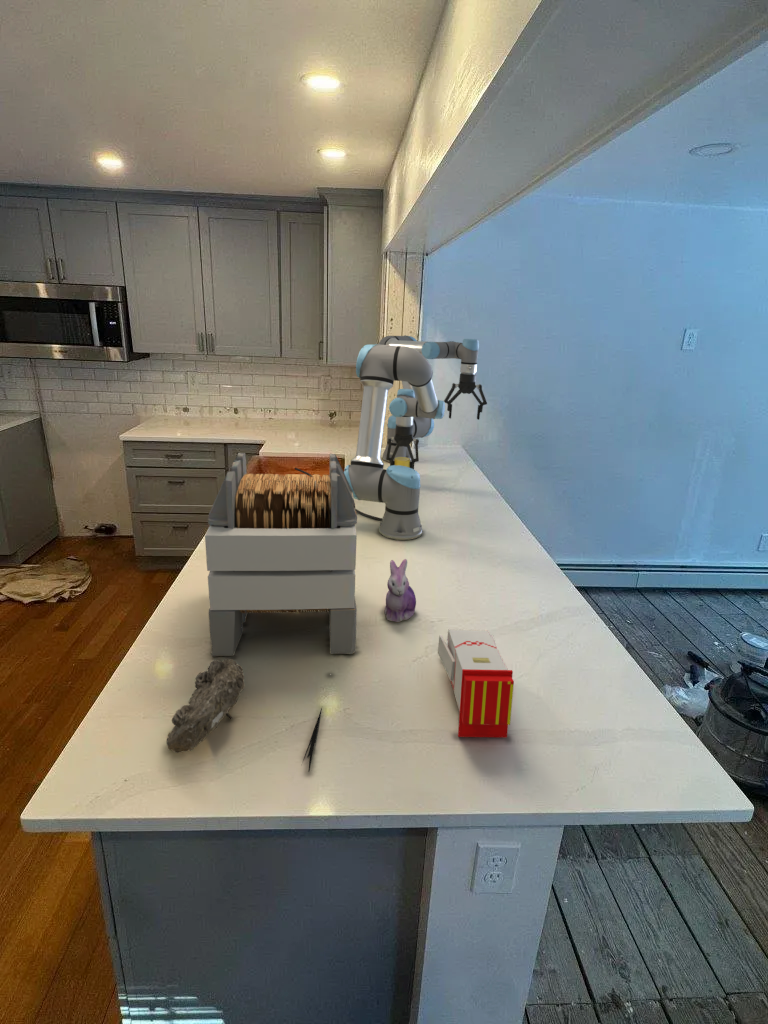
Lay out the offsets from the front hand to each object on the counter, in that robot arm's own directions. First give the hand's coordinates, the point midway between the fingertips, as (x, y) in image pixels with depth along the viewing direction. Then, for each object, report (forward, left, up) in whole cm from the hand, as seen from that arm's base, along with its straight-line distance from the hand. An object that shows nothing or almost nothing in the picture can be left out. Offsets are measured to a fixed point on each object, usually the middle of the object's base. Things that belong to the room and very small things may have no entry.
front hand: (401, 475), depth 254 cm
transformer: (+70, -102, -4) cm, 124 cm away
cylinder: (0, 0, -4) cm, 4 cm away
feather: (+105, -117, -4) cm, 157 cm away
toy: (+117, -87, -4) cm, 146 cm away
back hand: (-1, +40, +22) cm, 46 cm away
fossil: (+92, -133, -4) cm, 162 cm away
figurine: (+85, -78, -4) cm, 115 cm away
